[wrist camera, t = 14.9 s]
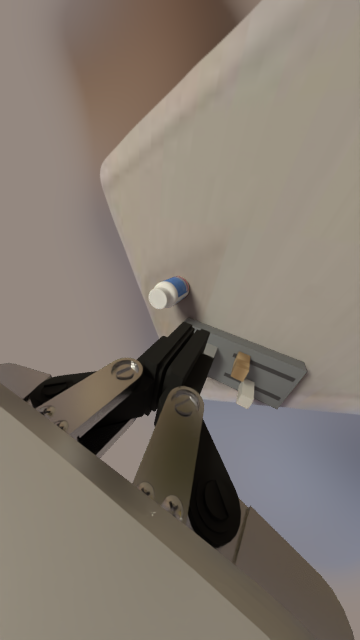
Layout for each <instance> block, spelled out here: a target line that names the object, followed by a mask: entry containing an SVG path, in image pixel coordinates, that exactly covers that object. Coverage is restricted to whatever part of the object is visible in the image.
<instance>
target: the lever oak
mask: <svg viewBox="0 0 360 640" xmlns="http://www.w3.org/2000/svg"><path fill="white" fill-rule="evenodd" d="M249 365H250V356H249V355H247V354H244V353H242V352H240V351H239V352H238V354H237V356H236V358H235V361H234V364H233V368H232V373H231V377H233V378H235V379H237V380H240V381H242V382H243V381H244V379H245V377H246V376H247V374H248V372H249Z"/></svg>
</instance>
